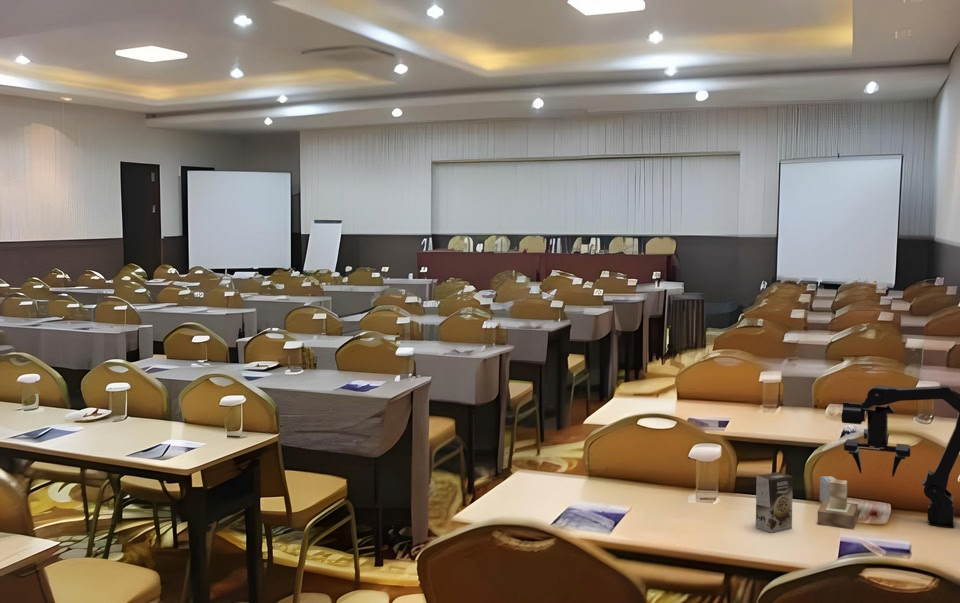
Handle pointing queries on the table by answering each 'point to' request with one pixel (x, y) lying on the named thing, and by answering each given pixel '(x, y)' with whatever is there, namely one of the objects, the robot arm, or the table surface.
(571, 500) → the table surface
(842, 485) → the maple block
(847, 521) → the walnut base
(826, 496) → the medicine box
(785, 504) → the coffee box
